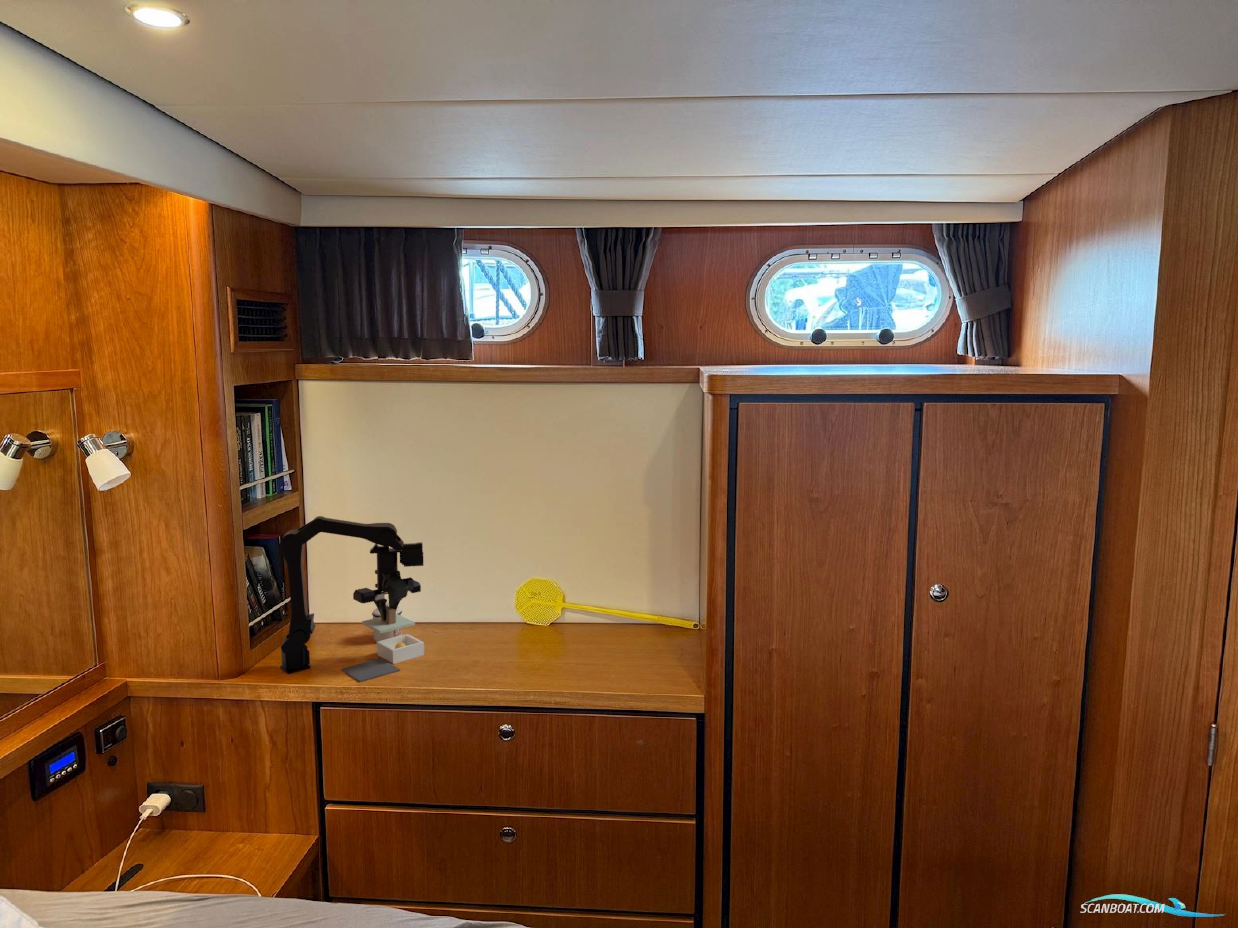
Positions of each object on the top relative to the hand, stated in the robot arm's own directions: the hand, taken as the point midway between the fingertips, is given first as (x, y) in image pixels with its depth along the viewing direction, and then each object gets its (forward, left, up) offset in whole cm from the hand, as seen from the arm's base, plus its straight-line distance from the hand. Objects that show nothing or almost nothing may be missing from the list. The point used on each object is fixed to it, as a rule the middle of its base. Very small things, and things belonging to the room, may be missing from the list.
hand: (388, 619), depth 229 cm
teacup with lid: (+9, +19, -13) cm, 24 cm away
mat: (-8, -3, -12) cm, 15 cm away
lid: (0, 0, -2) cm, 2 cm away
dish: (+4, +2, -12) cm, 13 cm away
